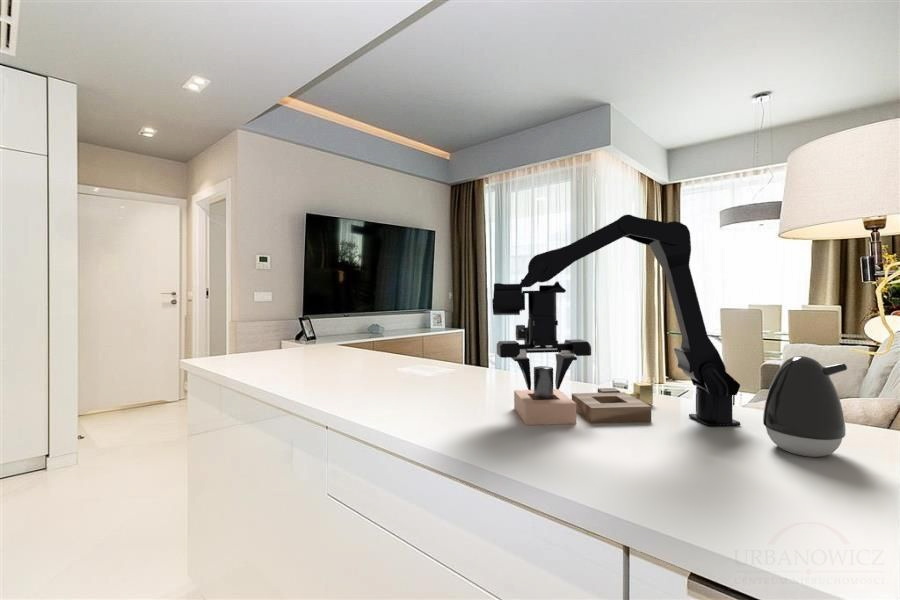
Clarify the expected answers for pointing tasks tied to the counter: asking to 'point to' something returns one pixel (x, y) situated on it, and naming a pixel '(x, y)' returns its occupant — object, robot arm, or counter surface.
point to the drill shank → (543, 383)
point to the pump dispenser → (805, 408)
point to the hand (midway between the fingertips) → (543, 389)
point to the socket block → (611, 407)
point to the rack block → (544, 408)
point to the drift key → (643, 392)
